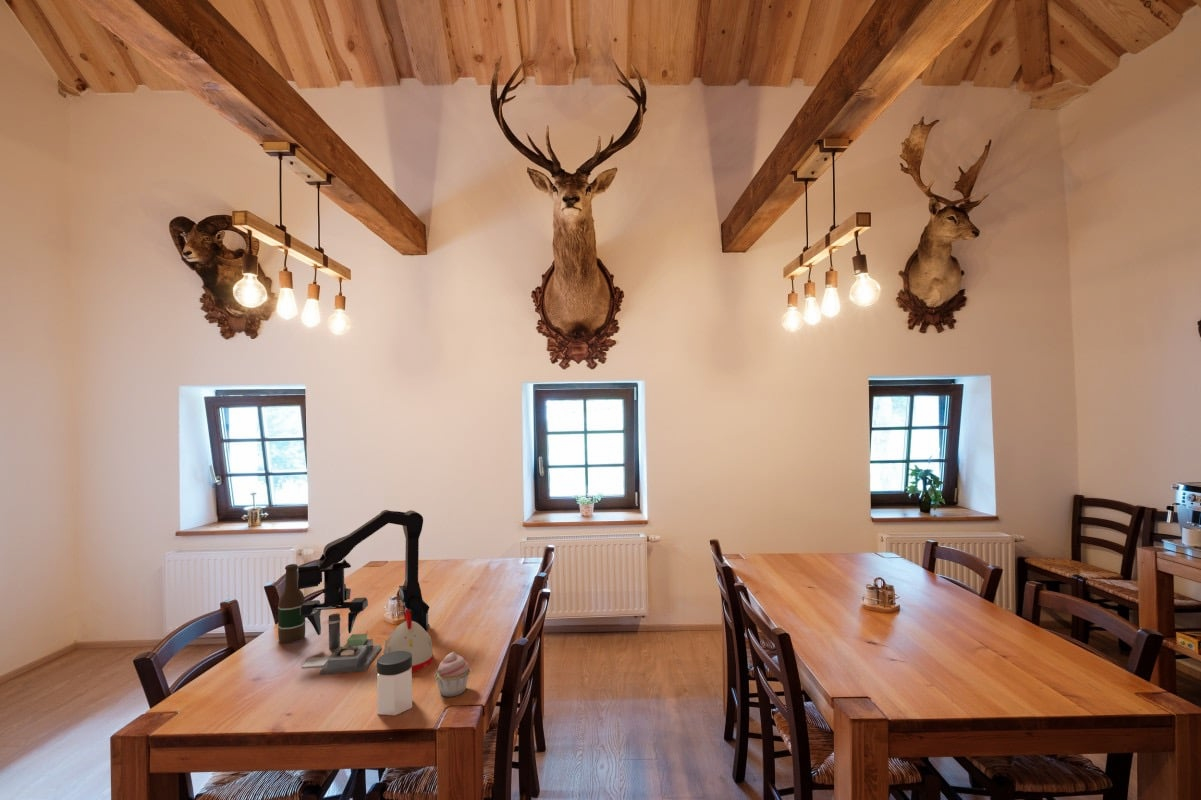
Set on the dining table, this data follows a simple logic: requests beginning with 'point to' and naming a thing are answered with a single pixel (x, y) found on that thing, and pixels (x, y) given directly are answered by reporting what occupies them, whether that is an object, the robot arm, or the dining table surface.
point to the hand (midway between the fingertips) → (334, 633)
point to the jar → (394, 683)
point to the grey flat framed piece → (351, 658)
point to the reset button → (347, 652)
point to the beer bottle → (291, 609)
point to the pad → (316, 662)
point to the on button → (357, 640)
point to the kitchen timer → (411, 642)
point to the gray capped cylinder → (334, 631)
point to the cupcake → (452, 675)
